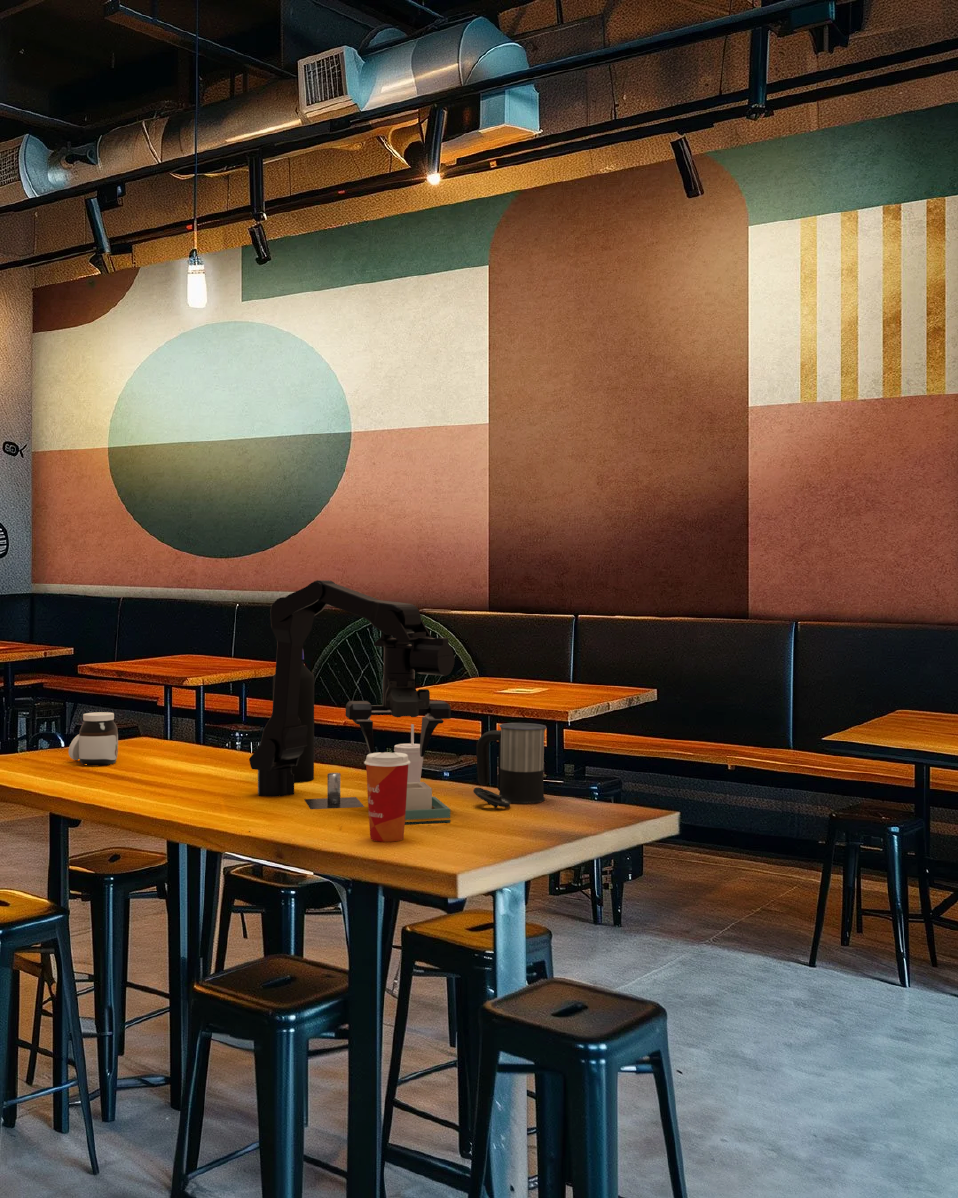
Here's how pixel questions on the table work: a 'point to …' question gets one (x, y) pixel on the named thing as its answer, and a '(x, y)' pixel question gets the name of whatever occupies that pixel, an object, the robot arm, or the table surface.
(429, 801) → the collar
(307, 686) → the bottle
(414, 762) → the smoothie
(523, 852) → the table surface
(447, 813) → the tray
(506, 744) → the milk frother
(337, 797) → the metal post stand
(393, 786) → the paper cup
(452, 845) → the table surface
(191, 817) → the table surface
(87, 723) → the spread jar
